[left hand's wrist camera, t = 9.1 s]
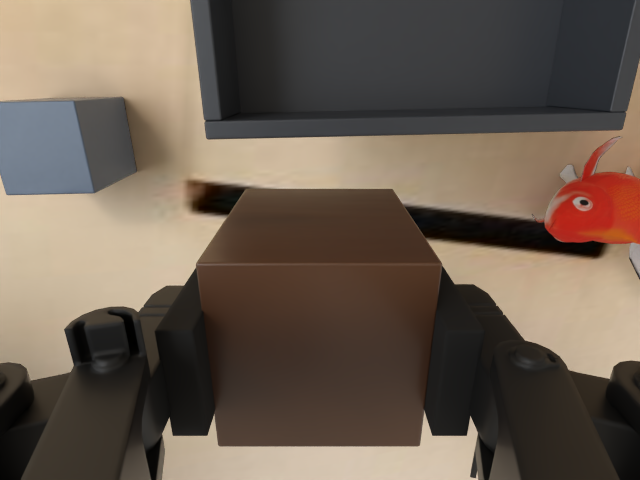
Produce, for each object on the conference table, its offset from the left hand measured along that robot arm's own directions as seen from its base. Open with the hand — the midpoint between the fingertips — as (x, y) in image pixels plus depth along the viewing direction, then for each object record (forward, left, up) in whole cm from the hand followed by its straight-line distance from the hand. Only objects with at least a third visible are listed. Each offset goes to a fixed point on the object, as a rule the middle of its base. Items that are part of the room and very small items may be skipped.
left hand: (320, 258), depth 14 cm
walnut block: (0, 0, 0) cm, 0 cm away
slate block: (-9, +13, -15) cm, 22 cm away
